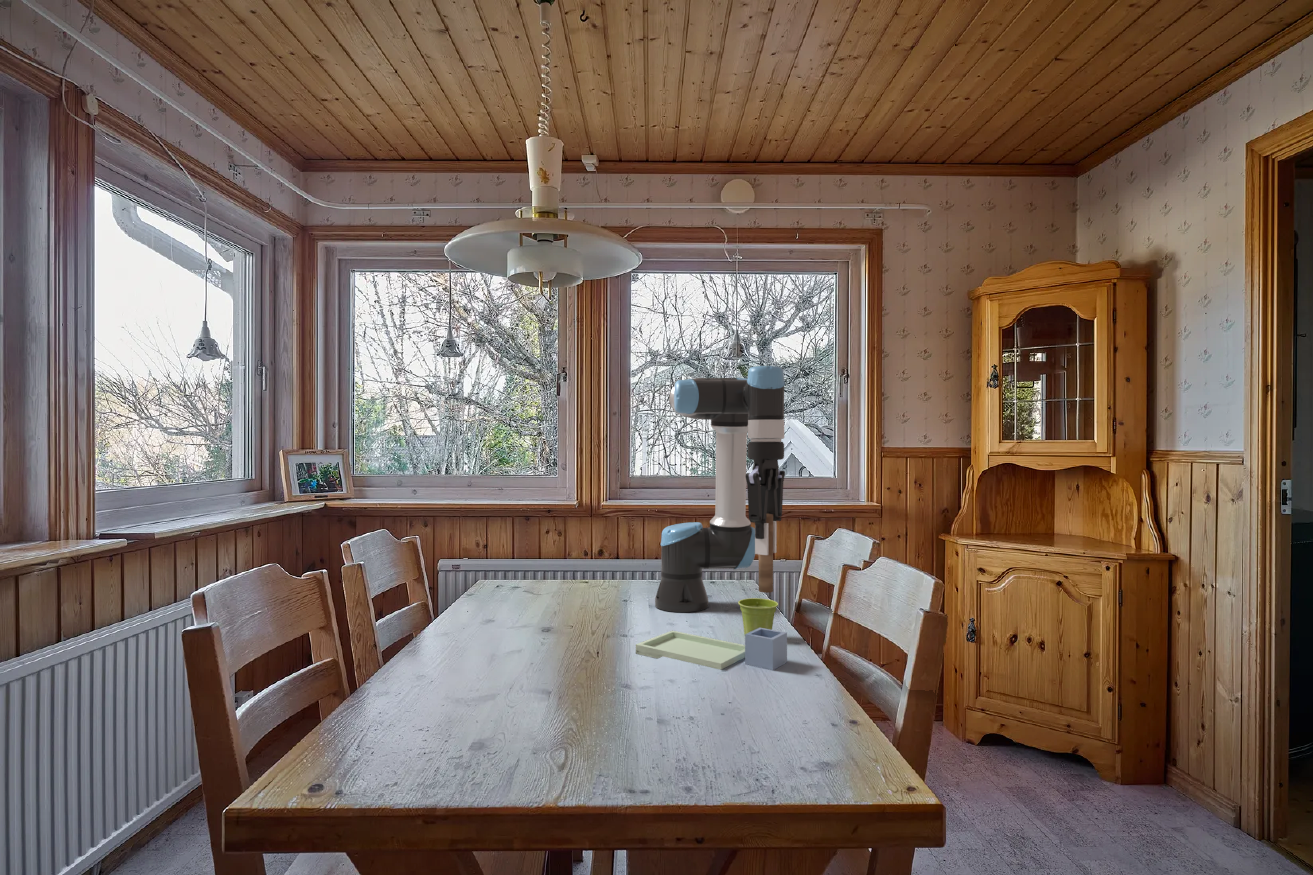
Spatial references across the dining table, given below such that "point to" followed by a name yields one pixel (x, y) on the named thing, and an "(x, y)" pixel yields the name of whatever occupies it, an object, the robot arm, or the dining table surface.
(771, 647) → the open box
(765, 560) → the dowel
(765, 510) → the robot arm
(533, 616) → the dining table surface
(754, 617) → the plant pot
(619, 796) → the dining table surface
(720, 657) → the tray
